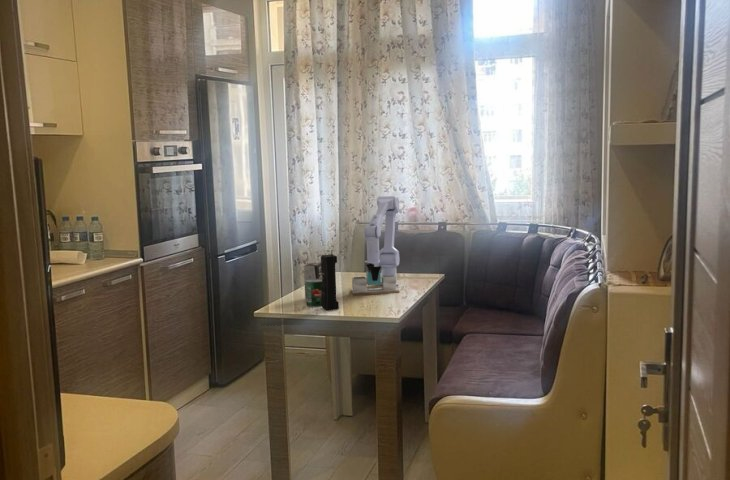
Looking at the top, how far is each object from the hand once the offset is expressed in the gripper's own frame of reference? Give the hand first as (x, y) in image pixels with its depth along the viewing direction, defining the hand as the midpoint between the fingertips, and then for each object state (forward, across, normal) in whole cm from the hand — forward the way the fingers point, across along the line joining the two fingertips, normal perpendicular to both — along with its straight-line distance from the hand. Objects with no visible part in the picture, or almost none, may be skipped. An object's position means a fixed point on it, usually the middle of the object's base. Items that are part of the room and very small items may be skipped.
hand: (374, 279), depth 322 cm
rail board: (+6, 0, 0) cm, 6 cm away
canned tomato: (+6, +20, -30) cm, 37 cm away
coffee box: (+6, +8, -29) cm, 31 cm away
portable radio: (+6, +30, -25) cm, 39 cm away
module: (+2, 0, 0) cm, 2 cm away
